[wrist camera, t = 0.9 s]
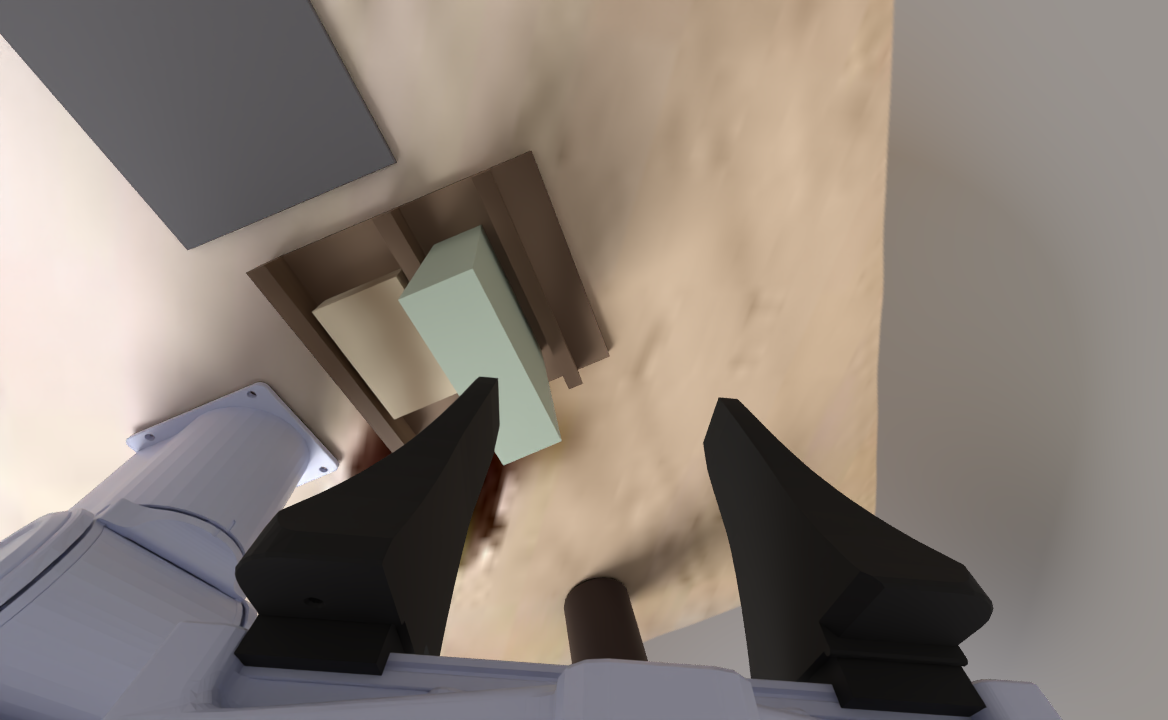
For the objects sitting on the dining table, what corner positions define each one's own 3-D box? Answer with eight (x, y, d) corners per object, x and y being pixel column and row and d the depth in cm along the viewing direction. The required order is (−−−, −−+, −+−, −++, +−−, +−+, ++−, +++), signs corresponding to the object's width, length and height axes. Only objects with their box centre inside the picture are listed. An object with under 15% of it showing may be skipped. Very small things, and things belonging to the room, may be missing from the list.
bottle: (602, 566, 41) (680, 877, 23) (638, 592, 44) (731, 884, 27) (549, 601, 42) (587, 925, 24) (589, 625, 45) (647, 927, 28)
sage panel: (501, 367, 28) (503, 465, 20) (434, 244, 24) (397, 299, 15) (541, 350, 28) (561, 440, 20) (481, 224, 24) (472, 268, 15)
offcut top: (397, 410, 27) (394, 419, 26) (318, 305, 23) (311, 312, 22) (466, 381, 27) (466, 389, 26) (399, 271, 23) (396, 276, 22)
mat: (193, 248, 22) (187, 250, 22) (-47, -33, 16) (-61, -38, 16) (396, 162, 22) (394, 162, 22) (228, -150, 16) (221, -158, 16)
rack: (406, 437, 30) (398, 460, 28) (270, 260, 23) (246, 272, 21) (607, 352, 30) (616, 369, 28) (530, 151, 23) (534, 151, 21)
